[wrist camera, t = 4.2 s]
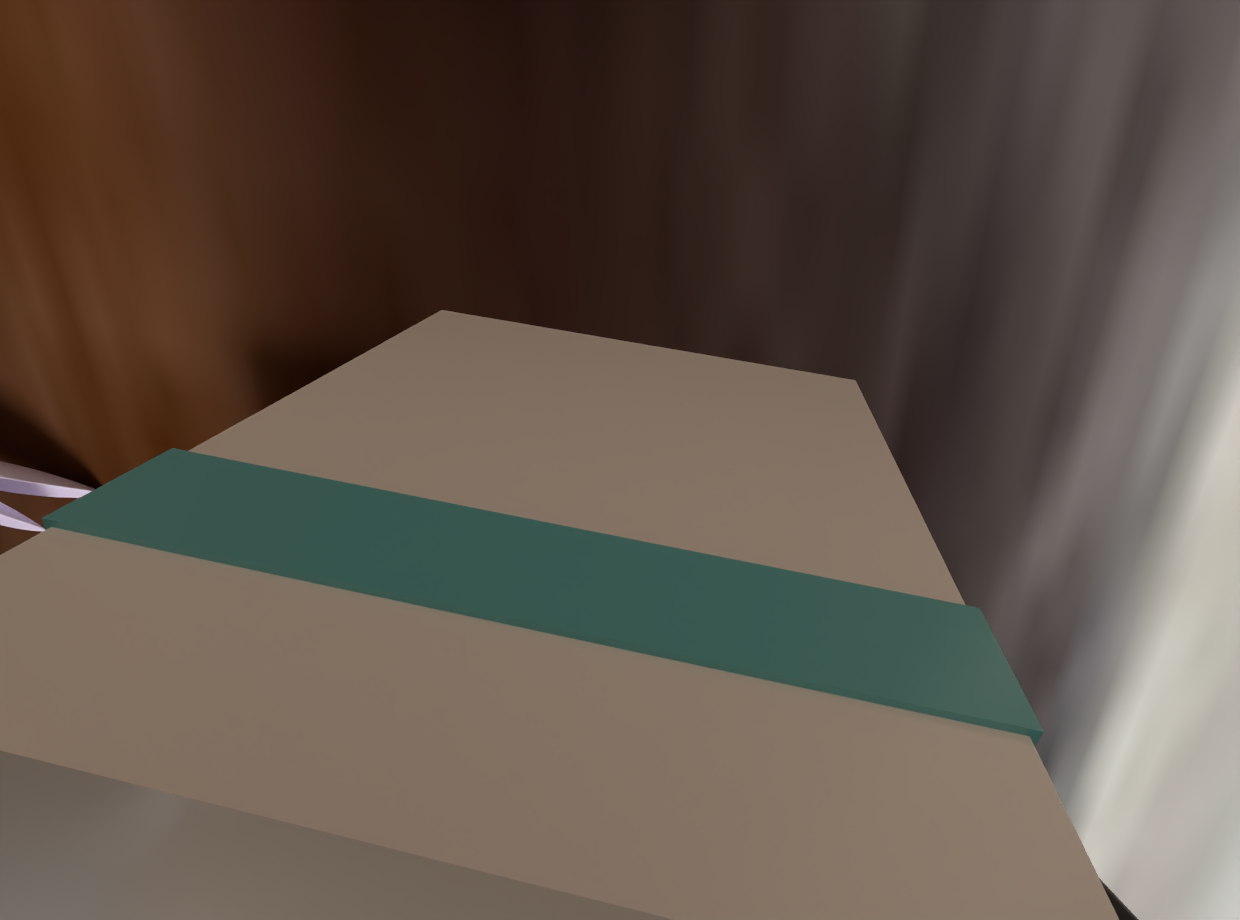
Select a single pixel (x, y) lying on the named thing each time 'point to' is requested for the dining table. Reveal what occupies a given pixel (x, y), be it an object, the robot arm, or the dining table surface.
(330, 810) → the teal-striped cream cube
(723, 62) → the dining table surface
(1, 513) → the water lily
